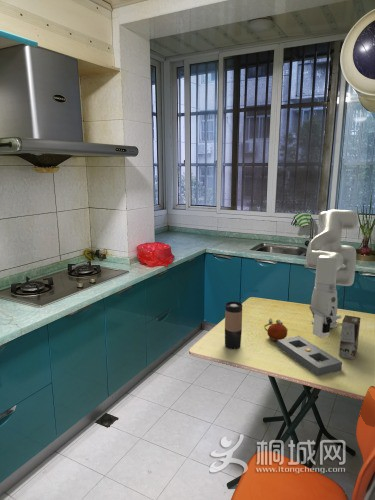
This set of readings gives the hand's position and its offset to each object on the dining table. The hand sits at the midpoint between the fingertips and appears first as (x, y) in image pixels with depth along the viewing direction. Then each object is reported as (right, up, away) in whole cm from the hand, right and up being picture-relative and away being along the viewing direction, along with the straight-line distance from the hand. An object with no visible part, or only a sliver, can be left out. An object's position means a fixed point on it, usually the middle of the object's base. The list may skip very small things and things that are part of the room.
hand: (321, 329), depth 146 cm
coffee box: (+17, -14, +13) cm, 25 cm away
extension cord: (-8, -8, +40) cm, 42 cm away
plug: (0, -2, 0) cm, 2 cm away
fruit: (-11, -11, +27) cm, 31 cm away
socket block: (-2, -14, +9) cm, 17 cm away
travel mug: (-33, -12, +20) cm, 41 cm away
